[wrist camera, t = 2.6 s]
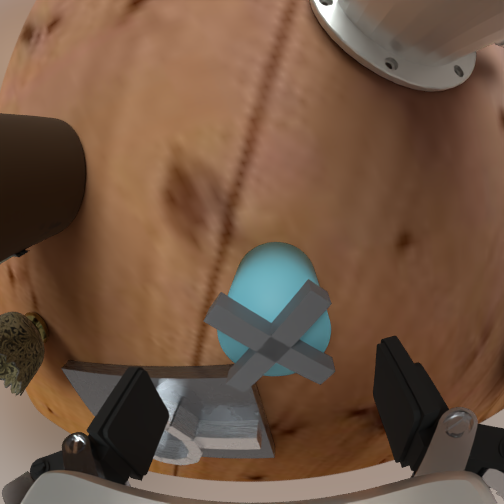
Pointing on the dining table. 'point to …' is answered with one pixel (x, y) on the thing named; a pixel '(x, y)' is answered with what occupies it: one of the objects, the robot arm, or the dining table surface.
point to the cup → (21, 348)
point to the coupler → (274, 318)
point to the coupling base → (189, 410)
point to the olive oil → (37, 180)
